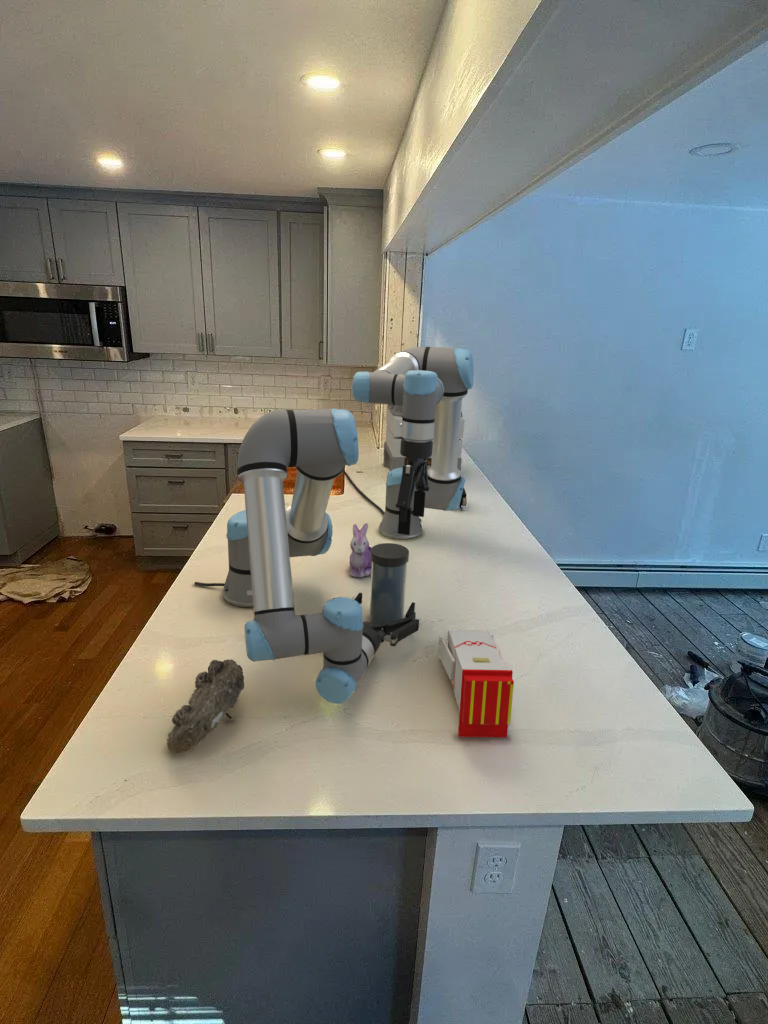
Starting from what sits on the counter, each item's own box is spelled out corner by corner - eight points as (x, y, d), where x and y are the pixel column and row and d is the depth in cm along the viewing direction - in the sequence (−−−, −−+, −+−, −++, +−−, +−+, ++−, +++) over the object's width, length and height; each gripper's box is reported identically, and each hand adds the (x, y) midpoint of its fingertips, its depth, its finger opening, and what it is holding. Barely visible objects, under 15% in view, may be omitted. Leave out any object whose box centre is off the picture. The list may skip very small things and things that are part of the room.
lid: (362, 557, 139) (362, 549, 138) (389, 548, 145) (389, 540, 144) (389, 570, 132) (389, 562, 132) (416, 559, 139) (416, 551, 138)
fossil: (192, 660, 117) (244, 628, 112) (224, 691, 120) (276, 661, 115) (142, 746, 98) (202, 712, 93) (182, 779, 101) (242, 748, 96)
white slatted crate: (382, 463, 289) (386, 382, 275) (445, 464, 293) (451, 384, 279) (390, 482, 257) (394, 392, 243) (460, 483, 261) (468, 394, 247)
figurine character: (467, 515, 225) (461, 499, 238) (469, 498, 221) (463, 482, 235) (450, 514, 224) (445, 498, 238) (452, 497, 221) (447, 482, 234)
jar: (362, 618, 144) (364, 551, 138) (386, 607, 150) (389, 542, 144) (386, 632, 139) (389, 562, 132) (410, 620, 145) (414, 553, 138)
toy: (488, 613, 130) (523, 677, 101) (484, 667, 133) (517, 744, 104) (435, 612, 130) (455, 676, 101) (432, 666, 133) (451, 743, 103)
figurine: (354, 581, 164) (356, 533, 159) (340, 567, 172) (341, 520, 167) (383, 575, 168) (386, 528, 163) (368, 562, 176) (370, 516, 171)
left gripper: (304, 651, 126) (339, 606, 145) (413, 674, 119) (434, 625, 139) (304, 621, 123) (339, 580, 142) (416, 644, 117) (437, 597, 136)
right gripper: (415, 428, 144) (410, 507, 151) (385, 448, 122) (381, 539, 129) (444, 431, 142) (437, 511, 149) (419, 452, 120) (413, 544, 127)
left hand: (386, 602), depth 141 cm, fingers open, 13 cm apart
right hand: (411, 524), depth 139 cm, fingers open, 13 cm apart
